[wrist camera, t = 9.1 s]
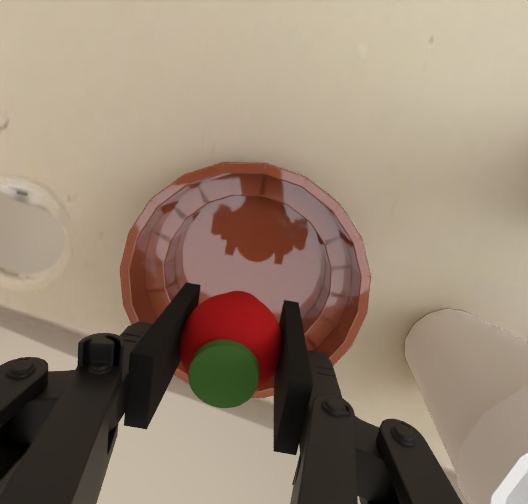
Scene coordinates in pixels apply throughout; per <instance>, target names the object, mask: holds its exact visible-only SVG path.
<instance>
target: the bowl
mask: <svg viewBox="0 0 528 504" xmlns="http://www.w3.org/2000/svg"><path fill="white" fill-rule="evenodd" d="M120 277H121V287H122V298H123V305H124V308H125V311H126V313H127V315H128V317H129V320H130V322H131V324H134V323H136V322H138V321H140V322H145V323H151V324H153V323H154V322H155V321H156V320H157V318H158V317H159V316H160V315H161V313H162V312H163V311H164V310H165V308H166V307H167V306H168V305H169V303H170V302H171V301H172V300H173V298H174V297H175V296H176V294H177V293H178V292H179V291H180V289H181V288H182V287H183V286H184V284H185V283H186V282H187V283H192V284H198V285H201V288H200V295H199V302H198V305H200V304H201V303H202V302H204V301H205V300H207V299H209V298H210V297H213V296H215V295H219V294H223V293H228V292H231V291H244V292H247V293H250V294H252V295H254V296H255V297H256V298H257V299H258V300H259V301H260V302H262V303H263V304H264V305H265V306H267V307H268V308H269V310H270V311H271V312H272V313H273V315H274V316H275V318H276V320H277V322H278V324H279V322H280V317H281V312H282V307H283V302H284V300H288V301H293V302H299V307H300V313H301V318H302V324H303V329H304V335H305V341H306V346H307V350H309V351H314V352H320V353H325V354H326V356H327V357H328V358H329V359H330V360H331V362H332V365H333V366H334V364H335V363H336V362H337V361H338V360H339V359H340V358H341V357H342V356H343V355H344V354H345V353H346V352H347V351H348V349H349V348H350V347H351V346H352V344H353V342H354V340H355V338H356V336H357V333H358V331H359V329H360V327H361V325H362V323H363V321H364V318H365V316H366V314H367V309H368V300H369V290H370V281H371V274H370V270H369V265H368V261H367V257H366V253H365V249H364V244H363V240H362V237H361V236H360V234H359V232H358V231H357V229H356V228H355V226H354V225H353V223H352V222H351V220H350V218H349V217H348V215H347V214H346V212H345V211H344V209H343V207H342V206H341V204H339V202H337V201H336V200H335V199H334V198H332V197H331V196H330V195H328V194H327V193H326V192H325V191H323V190H322V189H321V188H320V187H318V186H317V185H316V184H315V183H313V182H312V181H311V180H310V179H308V178H306V177H304V176H302V175H299V174H296V173H293V172H290V171H288V170H285V169H282V168H279V167H276V166H274V165H271V164H268V163H247V162H222V163H218V164H215V165H212V166H209V167H206V168H203V169H200V170H197V171H194V172H190V173H187V174H184V175H183V176H181V177H179V178H178V179H177V180H175V181H174V182H173V183H171V184H170V185H169V186H168V187H166V188H165V189H164V190H162V191H161V192H160V193H158V194H157V195H156V196H154V197H153V198H152V199H151V200H150V201H149V202H148V204H147V205H146V207H145V208H144V210H143V211H142V213H141V214H140V216H139V217H138V219H137V221H136V222H135V224H134V225H133V227H132V228H131V230H130V231H129V233H128V238H127V242H126V246H125V250H124V254H123V258H122V262H121V266H120ZM174 375H175V376H177V377H178V378H180V379H181V380H183V381H185V382H186V383H188V384H189V379H188V375H187V373H186V372H185V370H184V367H183V364H182V361H180V363H179V365H178V367H177V369H176V371H175V373H174ZM189 385H190V384H189ZM273 395H274V374H273V375H272V377H271V378H270V380H269V381H268V382H267V383H266V384H265V385H264V386H262V387H261V388H260V389H259V390H257V391H256V392H255V393H254V394H253V396H252V397H251V398H261V397H262V398H265V397H269V396H273Z"/></svg>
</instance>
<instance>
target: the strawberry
mask: <svg viewBox="0 0 528 504" xmlns="http://www.w3.org/2000/svg"><path fill="white" fill-rule="evenodd" d="M281 348H282V336H281V330H280V327H279V324H278V322H277V320H276V318H275V316H274V315H273V313H272V312H271V311H270V310H269V308H268V307H267V306H265V305H264V304H263V303H262V302H260V301H259V300H258V299H257V298H256V297H255V296H254V295H252V294H250V293H247V292H244V291H231V292H228V293H223V294H219V295H215V296H213V297H210V298H209V299H207V300H205V301H204V302H202V303H201V304H200V305H198V306H197V307H196V308H195V309H194V310H193V312H192V313H191V314H190V316H189V317H188V319H187V320H186V322H185V324H184V327H183V330H182V334H181V338H180V357H181V361H182V364H183V367H184V370H185V372H186V373H187V375H188V379H189V384H190V386H191V388H192V390H193V392H194V393H195V395H196V396H197V397H198V398H199V399H201V400H202V401H203V402H205V403H207V404H209V405H211V406H215V407H219V408H231V407H236V406H239V405H241V404H243V403H245V402H246V401H248V400H249V399H250V398H251V397H252V396H253V394H254V393H255V392H256V391H257V390H259V389H260V388H261V387H262V386H264V385H265V384H266V383H267V382H268V381H269V380H270V378H271V377H272V375H273V374H274V372H275V371H276V369H277V367H278V364H279V360H280V355H281Z"/></svg>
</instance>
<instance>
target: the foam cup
mask: <svg viewBox="0 0 528 504" xmlns="http://www.w3.org/2000/svg"><path fill="white" fill-rule="evenodd" d="M405 357H406V359H407V363H408V365H409V367H410V369H411V372H412V374H413V376H414V378H415V381H416V383H417V385H418V387H419V390H420V392H421V394H422V396H423V399H424V401H425V403H426V405H427V408H428V410H429V412H430V414H431V417H432V419H433V421H434V423H435V426H436V428H437V430H438V433H439V435H440V437H441V439H442V442H443V444H444V446H445V448H446V451H447V453H448V455H449V457H450V460H451V462H452V464H453V466H454V469H455V471H456V473H457V485H458V487H459V489H460V491H461V493H462V494H463V496H464V498H465V500H466V502H467V504H528V342H527V341H525V340H523V339H521V338H519V337H516V336H514V335H512V334H510V333H508V332H506V331H504V330H502V329H500V328H498V327H496V326H494V325H492V324H490V323H488V322H486V321H484V320H482V319H480V318H478V317H476V316H474V315H472V314H468V313H467V312H465V311H459V310H453V309H444V310H440V311H436V312H432V313H428V314H427V315H426V316H424V317H423V318H422V319H420V320H419V321H418V322H416V323H415V324H414V325H413V327H412V328H411V330H410V332H409V334H408V335H407V337H406V339H405Z"/></svg>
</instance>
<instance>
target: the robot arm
mask: <svg viewBox="0 0 528 504" xmlns="http://www.w3.org/2000/svg"><path fill="white" fill-rule="evenodd" d="M200 288H201V285H198V284H192V283H187V282H186V283H185V284H184V286H183V287H182V288H181V289H180V291H179V292H178V293H177V294H176V296H175V297H174V298H173V300H172V301H171V302H170V303H169V305H168V306H167V307H166V308H165V310H164V311H163V312H162V313H161V315H160V316H159V317H158V318H157V320H156V321H155V322H154V323H153V324H151V323H145V322H140V321H138V322H136V323H134V324H132V325H130V326H128V327H127V328H126V329H125V331H124V332H123V333H122V334H121V335H120V336H118V335H116V334H111V333H98V334H93V335H90V336H87V337H85V338H83V339H82V340H81V341H80V342H79V344H78V366H77V368H76V370H70V371H52V372H51V371H49V372H48V363H47V362H46V361H45V360H43V359H40V358H35V357H25V358H18V359H15V360H11V361H8V362H6V363H4V364H2V365H1V366H0V504H96V503H97V500H98V496H99V493H100V490H101V487H102V483H103V480H104V477H105V474H106V470H107V467H108V464H109V460H110V457H111V454H112V451H113V447H114V444H115V441H116V438H117V431H118V423H119V421H120V419H121V418H122V416H123V415H124V413H125V419H124V425H125V426H131V427H137V428H143V429H147V427H148V425H149V423H150V421H151V419H152V417H153V415H154V413H155V411H156V409H157V407H158V405H159V403H160V401H161V399H162V397H163V395H164V393H165V391H166V389H167V387H168V385H169V383H170V381H171V379H172V377H173V375H174V373H175V371H176V369H177V367H178V365H179V363H180V361H181V357H180V338H181V334H182V330H183V327H184V324H185V322H186V320H187V319H188V317H189V316H190V314H191V313H192V312H193V310H194V309H195V308H196V307H197V306H198V302H199V295H200ZM279 327H280V330H281V336H282V348H281V355H280V360H279V364H278V367H277V369H276V371H275V372H274V451H275V452H281V453H287V454H293V455H296V453H297V449H298V445H300V456H299V460H298V465H297V468H296V472H295V477H294V480H293V485H294V486H293V492H292V498H291V503H290V504H358V503H357V496H359V497H360V503H361V504H462V502H461V500H460V499H459V497H458V495H457V493H456V492H455V490H454V488H453V487H452V485H451V483H450V481H449V480H448V478H447V476H446V475H445V473H444V471H443V470H442V468H441V466H440V464H439V463H438V461H437V459H436V458H435V456H434V454H433V452H432V451H431V449H430V447H429V446H428V444H427V442H426V440H425V439H424V437H423V436H422V435H421V434H420V432H419V431H417V430H416V429H415V428H414V427H412V426H411V425H409V424H407V423H405V422H403V421H400V420H397V419H386V420H384V421H382V423H381V425H380V428H379V427H376V426H374V425H372V424H369V423H367V422H365V421H362V420H360V419H359V418H357V417H356V416H355V414H354V411H353V408H352V407H351V405H350V404H349V403H348V402H347V401H345V400H344V399H343V398H342V395H341V392H340V389H339V385H338V382H337V378H336V375H335V372H334V368H333V365H332V362H331V360H330V359H329V358H328V357H327V356H326V354H325V353H320V352H314V351H309V350H307V346H306V341H305V335H304V329H303V324H302V318H301V313H300V307H299V302H293V301H288V300H284V302H283V307H282V312H281V317H280V322H279Z"/></svg>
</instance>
